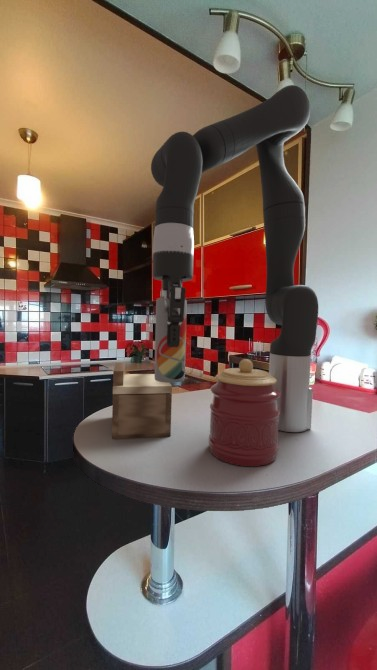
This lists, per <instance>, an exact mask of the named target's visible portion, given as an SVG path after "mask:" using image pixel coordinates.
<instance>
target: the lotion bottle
mask: <svg viewBox="0 0 377 670" xmlns="http://www.w3.org/2000/svg"><path fill="white" fill-rule="evenodd" d="M181 285H182V286H183V282H182V279H181ZM162 289H168V280H167V279H166V278H163V279H162V280H161V290H162ZM165 301H166V302H167V305H168V307H169V299H168V298H165ZM175 301H176V300H175ZM155 302H156V303H155V333H154V334H155V337H154V338H155V339H154V340H155V341H154V374H155V380H156V381H159V382H165V383H170V384H175V383H181V382H183V381H185V376H186V343H187V315H188V314H187V311H188V308H187V307H188V305H187V304H188V300H187V299H185V303H184V320H183V322H182V324H181V326H180V341H179V346H178V347H168V346H167V326H170V325H167V323H166V321H167V313H166V312H164V298H161V297H159V298H156V301H155ZM172 315H178V313H177V312H172Z"/></svg>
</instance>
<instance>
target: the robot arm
mask: <svg viewBox="0 0 377 670" xmlns="http://www.w3.org/2000/svg"><path fill="white" fill-rule="evenodd" d="M310 115H311V104H310V100H309V98H308V95H307V93H306V92H305V91H304V90H303V88H301V87H299V86H298V85H296V84H295V85H294V84H289V85H286V86H284V87H282V88H281V89H279V90H278V91H276V92H275V93H274V94H273V95H272V96H271V97H269V98H268V99H266V100H265V101H262V102H261V103H258V104H257V105H255V106H252V107H251V108H248V109H247V110H244V111H242V112H240V113H238V114H235V115H233V116H230V117H228V118H224V119H223V120H220V121H218V122H214V123H211V124H209V125H207V126H204V127H202V128H201V129H198V130H197V131H195V133H193V134H191V133H189V132H188V131H176V132H175V133H174V134H172V135H171V136H169V137H168V138H167V139H166V141H165V142H163V144H162V145H161V146H160V147H159V148H158V150H157V151H156V152H155V154H154V155H153V157H152V160H151V163H150V170H151V171H150V172H151V175H152V178H153V179H154V181H155V182H156V183H157V184H158V185H160V186H161V187H162V190H161V192H160V194H159V195H158V196H157V198H156V201H155V202H156V203H155V214H154V215H155V216H154V233H153V237H152V238H153V239H152V240H153V241H152V266H151V267H152V268H151V269H152V270H151V271H152V273H151V274H152V278H153V279H154V280H157V281H162V279H163V278H166V279H167V280H168V289H162V288H161V289H160V295H159V296H160V297H159V298H164V312H166V313H167V321H166V323H167V325H170V326H167V346H168V347H178V346H179V341H180V326H181V324H182V322H183V320H184V303H185V300H186V293H187V289H186V287H185V286H184V287H183V284H182V285H181V279H182V283H183V282H189V281H192V280H193V277H194V258H195V257H194V253H195V252H194V251H195V240H194V239H195V238H194V213H195V212H194V204H195V201H196V198H197V194H198V190H199V187H200V186H199V185H200V181H201V177H202V174H203V173H204V172H206V171H208V170H211V169H215V168H217V167H219V166H222V165H223V164H226V163H229V162H230V161H232V160H234V159H235V158H237V157H239V156H240V155H242V154H244V153H246V152H247V151H249V150H250V149H252V148H253V147H255V146H256V147H255V148H256V153H257V159H258V164H259V165H258V166H259V172H260V184H261V194H262V195H261V196H262V217H263V229H264V241H265V243H264V245H265V259H266V260H265V261H266V265H265V266H266V281H265V282H266V283H265V285H266V286H265V311H266V314H267V316H268V318H269V319H270V321H271V322H272V323H274V324H276V325H279V326H281V328H280V333H279V336H277V338H276V339H274V340H271V342H270V346H269V361H268V362H269V367H268V373H269V374H270V375H271V376H272V377H274V378H275V379H276V380H277V382H276V383H275V384H274V386H275V388H276V389H278V390H279V391H280V392H281V396H280V397H279V398H278V408H279V410H280V414H279V425H278V431H282V432H289V433H301V432H305V431H306V430H311V429H312V414H313V397H314V395H313V394H314V389H313V388H312V387H310V381H311V380H310V379H311V377H310V376H311V358H312V357H311V356H312V349H313V347H314V344H315V342H316V338H317V329H318V328H317V327H318V318H319V301H318V297H317V294H316V292H315V291H314V289H313V288H311V287H310V286H307V285H303V284H297V285H296V284H295V279H294V278H295V277H294V275H295V273H294V272H295V271H294V270H295V269H294V268H295V262H296V260H297V259H296V258H297V255H298V252H299V249H300V246H301V244H302V240H303V237H304V234H305V230H306V206H305V197H304V194H303V192H302V190H301V187H299V186H298V184H297V182H296V181H295V180H294V179H293V177H292V176H291V175H290V174H289V172H288V170H287V168H286V165H285V159H284V143H285V142H287V141H288V140H290V139H291V138H292V137H294V136H296V135H297V134H298V133H299V132H301V131H302V130H303V129H304V128H305V126H306V125H307V124H308V121H309V119H310V118H311V117H310ZM165 298H168V299H169V307H168V305H167V302H166V301H165ZM175 300H176V301H175ZM172 312H177V313H178V315H172Z"/></svg>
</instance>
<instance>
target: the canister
mask: <svg viewBox="0 0 377 670" xmlns="http://www.w3.org/2000/svg"><path fill="white" fill-rule="evenodd" d="M214 378H215V380H217V381H216V383H214V384H213V385H211V387H210V391H211V393H212V402H211V403H210V404H209V408H210V421H209V422H210V423H209V435H208V445H209V451H210V452H211V454H212V455H213V456H214V457H215V458H217V459H219V460H221V461H223V462H225V463H228V464H231V465H235V466H242V467H259V466H265V465H266V466H267V465H268V464H271V463H272V462H274V461H275V460H276V458H277V455H278V452H279V445H280V443H279V441H278V440H279V430H278V425H279V414H280V410H279V408H278V398H279V397H280V396H281V392H280V391H279V390H278V389H276V388H275V386H274V384H275V383H276V382H277V380H276V379H275V378H274V377H272V376H271V375H270V374H269V371H266V370H261V369H257V368H254V362H252V360H250V359H249V358H244V359H241V360H240V361H239V364H238V367H231V368H225V369H223V370H222V371H220V373H219V372H218V373H217V374H216V375H215V377H214Z"/></svg>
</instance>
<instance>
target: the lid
mask: <svg viewBox="0 0 377 670" xmlns="http://www.w3.org/2000/svg"><path fill="white" fill-rule="evenodd" d="M124 370H125V363H124V362H115V364H114V367H113V373H112V374H113V379H112V395H113V394H155V393H171V394H173V385H172V383H165V382H159V381H156V380H155V373H132V374H131V373H130V374H129V373H127V374H126V373H125V371H124Z"/></svg>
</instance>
